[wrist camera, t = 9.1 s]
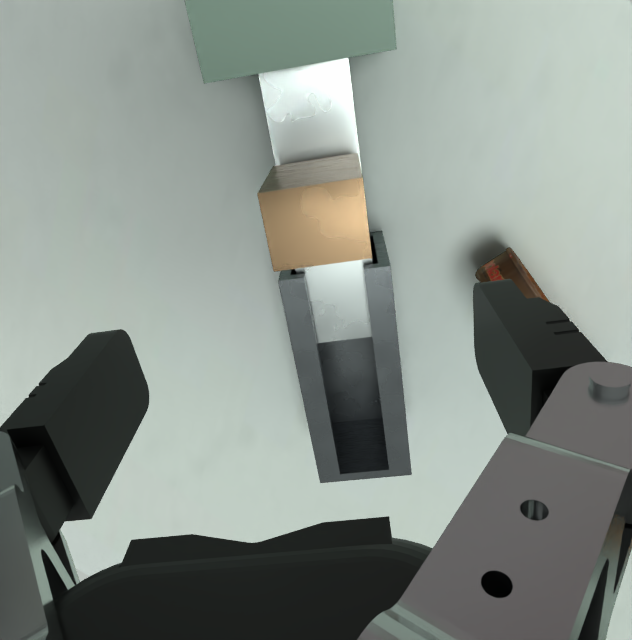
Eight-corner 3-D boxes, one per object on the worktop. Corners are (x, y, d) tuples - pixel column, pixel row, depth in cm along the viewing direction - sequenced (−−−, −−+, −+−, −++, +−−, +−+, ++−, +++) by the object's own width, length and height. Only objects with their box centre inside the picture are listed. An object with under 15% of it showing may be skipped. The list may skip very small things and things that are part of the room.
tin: (607, 385, 37) (674, 469, 30) (566, 407, 38) (622, 494, 31) (497, 226, 32) (545, 279, 25) (454, 256, 33) (487, 315, 26)
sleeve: (322, 425, 40) (320, 483, 34) (287, 244, 33) (278, 280, 28) (401, 417, 39) (411, 474, 34) (381, 231, 32) (390, 265, 27)
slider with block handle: (312, 312, 34) (302, 417, 24) (255, -4, 26) (205, -39, 16) (376, 304, 34) (391, 408, 24) (337, -20, 26) (337, -66, 16)
